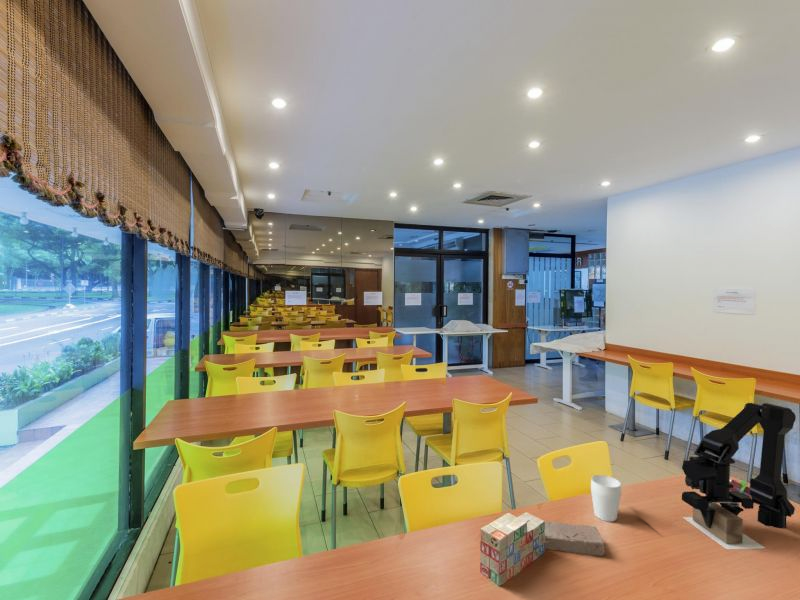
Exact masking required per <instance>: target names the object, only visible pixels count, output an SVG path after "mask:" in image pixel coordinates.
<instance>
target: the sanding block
mask: <svg viewBox="0 0 800 600" xmlns="http://www.w3.org/2000/svg"><path fill="white" fill-rule="evenodd" d="M711 508H712V509H714V510H715V514H714V518H713V522H712V525H711V527H710V528H708V527H707V526H706V524H705V522H704V519H703V516H702V514H701V512H700V510H698V509H695V508H693V507H692V517H693V520H694V521H695V522H696V523H698V524H699V525H701V526H702V527H704V528H705V529H707V530H708V531H709V532H711V533H712V534H714V535H715V536H717V537H718V538H720V539H721V540H722V541H724V542H725V543H742V542H743V534H744V533H743V526H744V525H743V524H744V523H743V521H744V519H743V518H742V517H740V516H738V515H735V514H733V513H732V512H730V511H728V510H727V509H725V508H723V507H722V506H721V505H720V504H719V503H712V506H711Z"/></svg>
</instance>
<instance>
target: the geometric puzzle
mask: <svg viewBox="0 0 800 600" xmlns="http://www.w3.org/2000/svg"><path fill="white" fill-rule="evenodd" d="M738 480H739V481H738ZM740 480H741V481H740ZM730 483H731V484H733V488H729V491H738V492H740V493H742V494H744V495H746V496H748V497H749V498H751V495H750V490H749V488H750V484H749V485H748V484H747V483H746V482H745V480H744V479H743V478H742V479H741V478H740V479H736V480H735V479H730ZM748 486H749V487H748Z"/></svg>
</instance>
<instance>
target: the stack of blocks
mask: <svg viewBox="0 0 800 600" xmlns="http://www.w3.org/2000/svg"><path fill="white" fill-rule="evenodd" d="M545 521H546V520H544V519H541V518H539V517H537V516H535V515H533V514H530V513H529V512H527V511H526V512H524V513H523V514H521V515H519V516H515V515H513V514H512V513H509V512H507V513H505V514H504V515H502V516H500V517H499V518H497V519H495V520H493V521H492V522H490V523H489V524H486V525H484V526H483V527H481V528H480V542H479V544H480V545H479V546H480V549H479V550H480V562H479V564H480V565H479V567H480V570H479V571H480V572H481V573H482V574H483V575H482V574H481V573H480V574H481V575H482V576H483V577H485V576H486V577H487V578H486V577H485V578H486V579H488V578H489V579H491V580H490V582H492V581H493V582H494V585H496V584H497V585H496V586H497V587H501V586H500V585H504V584H505V583H506V582H508V581H509V580H510V579H512V578H513V577H515V576H516V575H518V574H519V573H520V572H521V571H523V569H525V568H526V567H527V566H529V565H530V564H531V563H533V562H535V560H537V559H539V558H540V557H541V556H543V555H544V554H545V553H546V552H545V551H546V549H545V532H544V531H545ZM517 573H518V574H517ZM489 579H488V580H489ZM493 582H492V583H493Z"/></svg>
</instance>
